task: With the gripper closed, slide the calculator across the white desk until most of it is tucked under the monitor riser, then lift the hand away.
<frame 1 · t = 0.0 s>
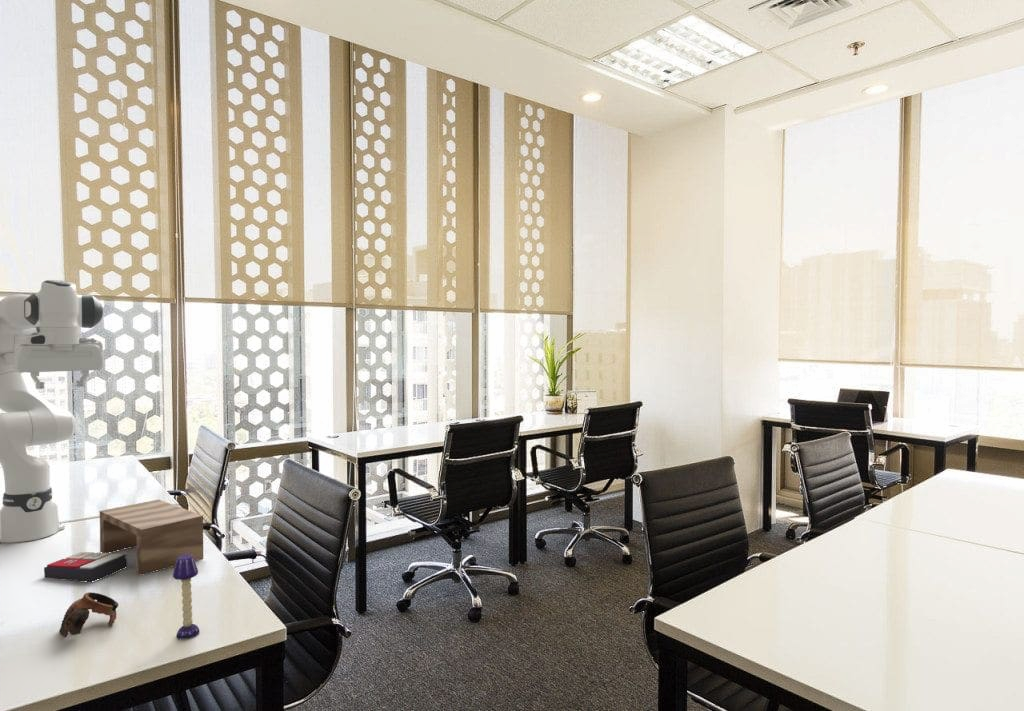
hand: (60, 387, 171), 48 cm above the table, tool pointing down, fingers open, 8 cm apart
calculator: (86, 574, 162), on the table
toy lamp: (186, 635, 128), on the table
brown curved loop: (85, 631, 130), on the table
monitor riser: (151, 554, 175), on the table
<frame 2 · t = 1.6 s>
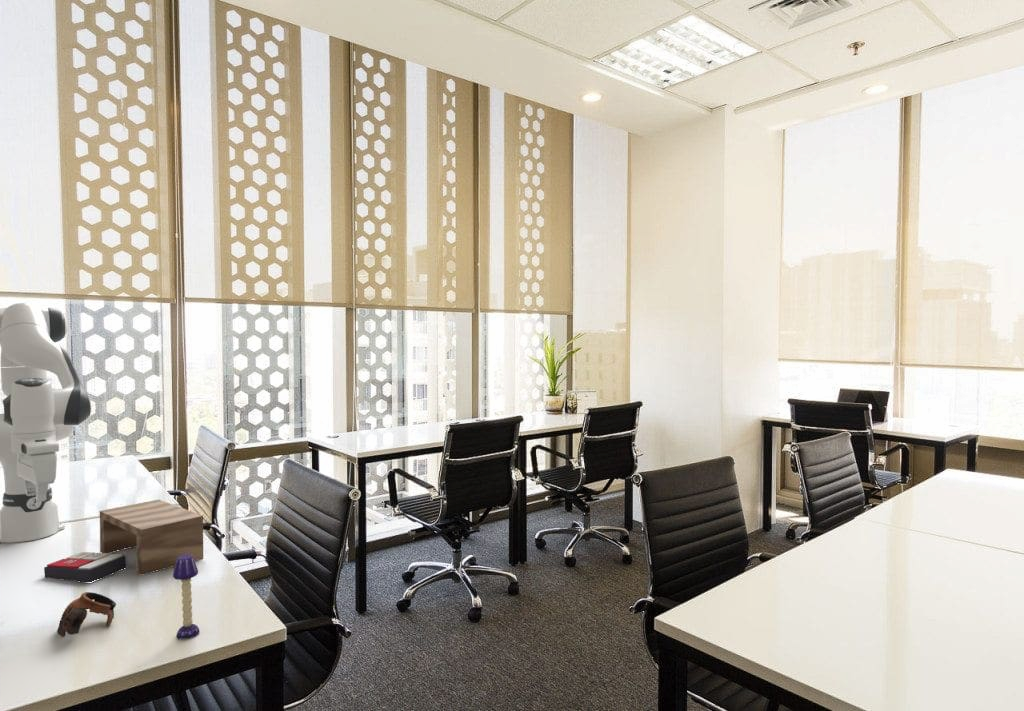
hand: (36, 498, 153), 22 cm above the table, tool pointing down, fingers open, 8 cm apart
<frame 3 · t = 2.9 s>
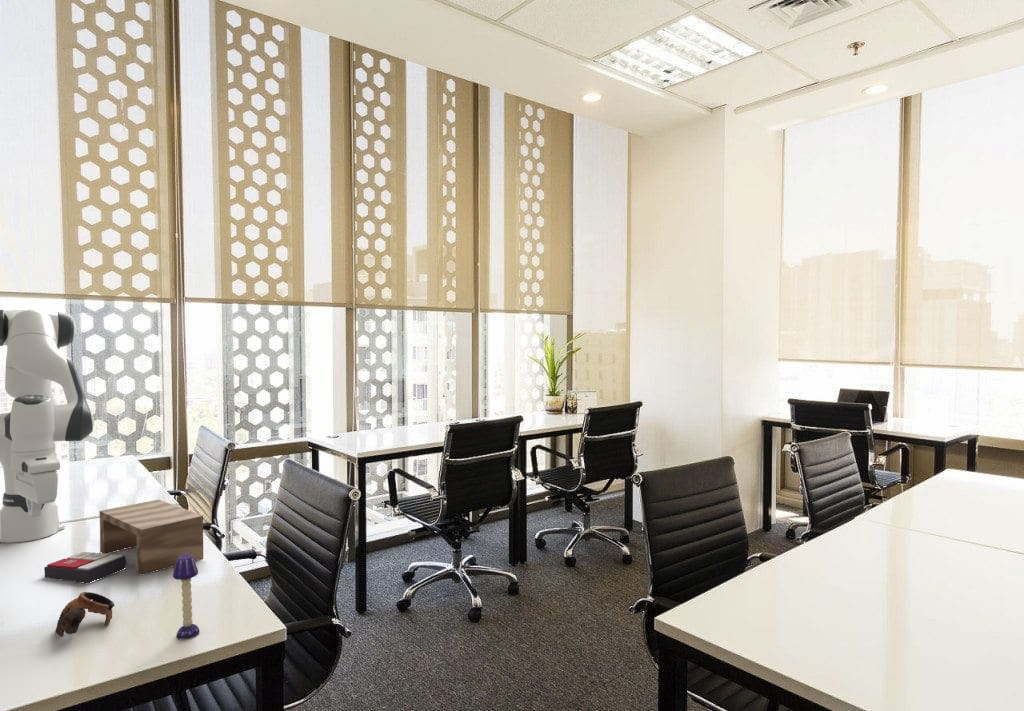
hand: (34, 515, 152), 18 cm above the table, tool pointing down, fingers closed
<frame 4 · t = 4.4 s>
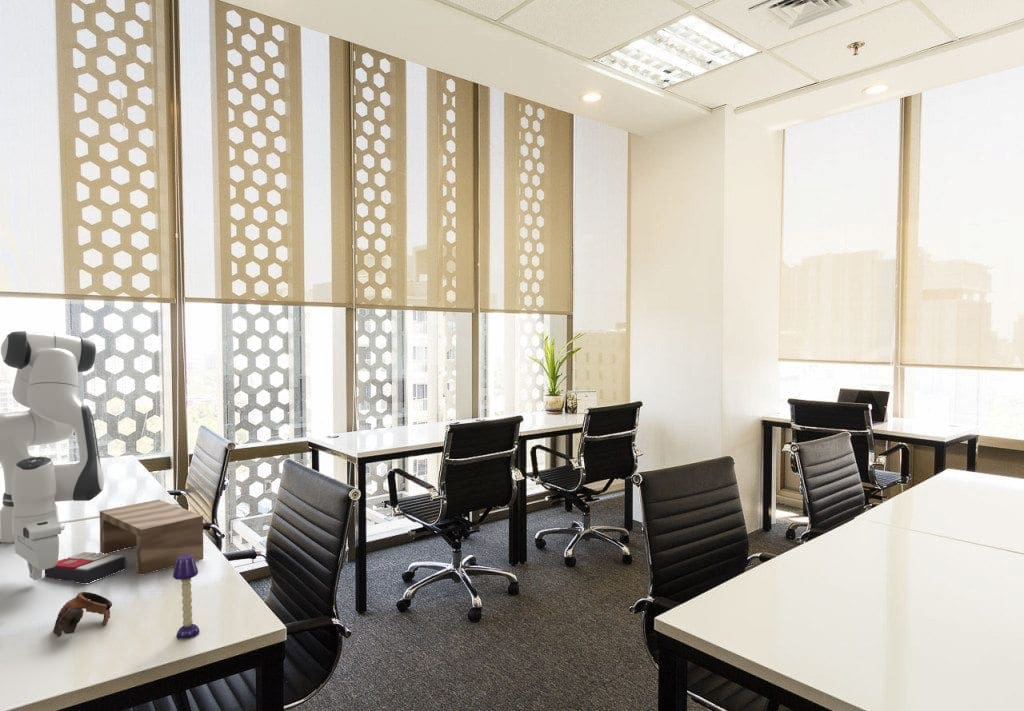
hand: (35, 578, 153), 2 cm above the table, tool pointing down, fingers closed
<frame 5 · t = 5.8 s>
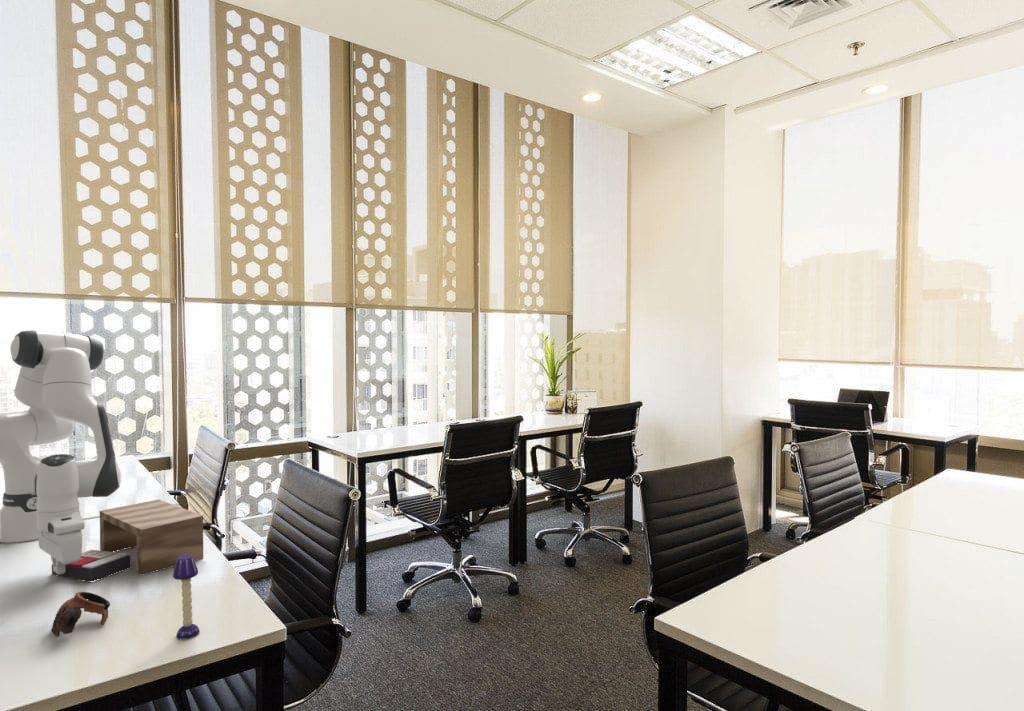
hand: (59, 572, 157), 2 cm above the table, tool pointing down, fingers closed
calculator: (92, 572, 163), on the table, touching gripper
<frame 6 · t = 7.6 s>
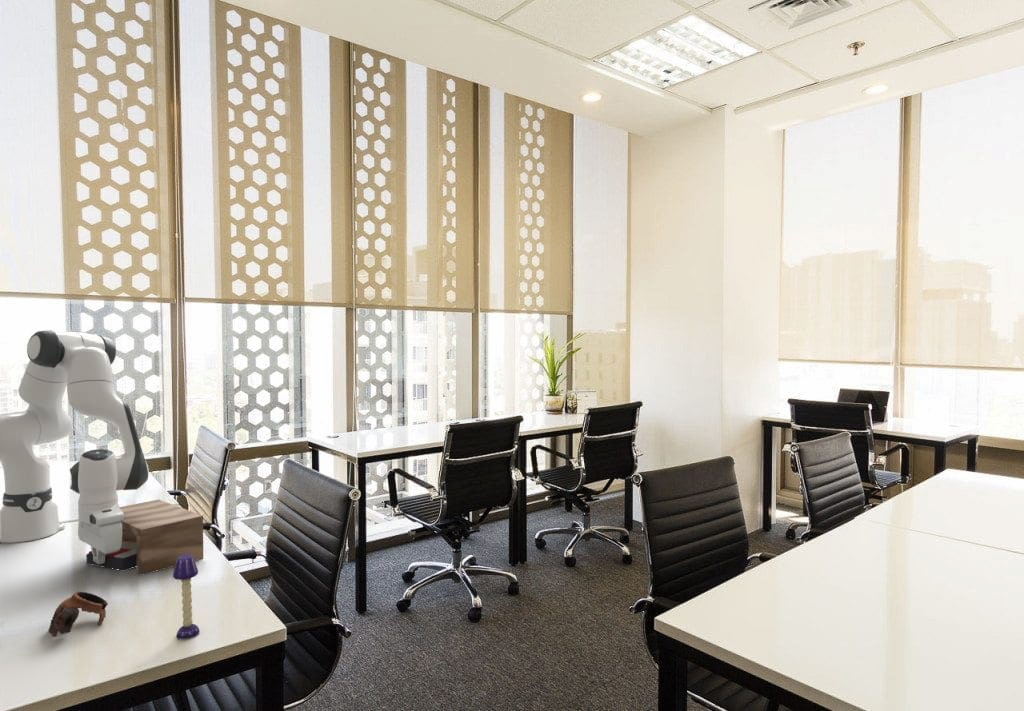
hand: (99, 562, 164), 2 cm above the table, tool pointing down, fingers closed
calculator: (123, 562, 170), on the table, touching gripper
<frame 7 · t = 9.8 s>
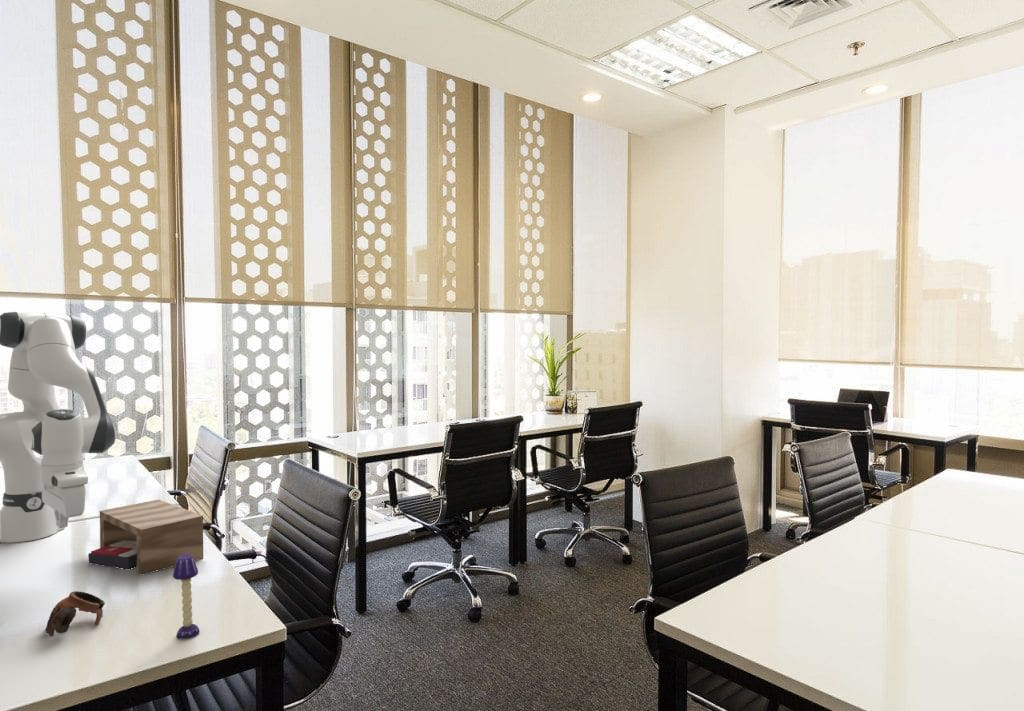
hand: (61, 526, 158), 13 cm above the table, tool pointing down, fingers closed
calculator: (126, 561, 171), on the table
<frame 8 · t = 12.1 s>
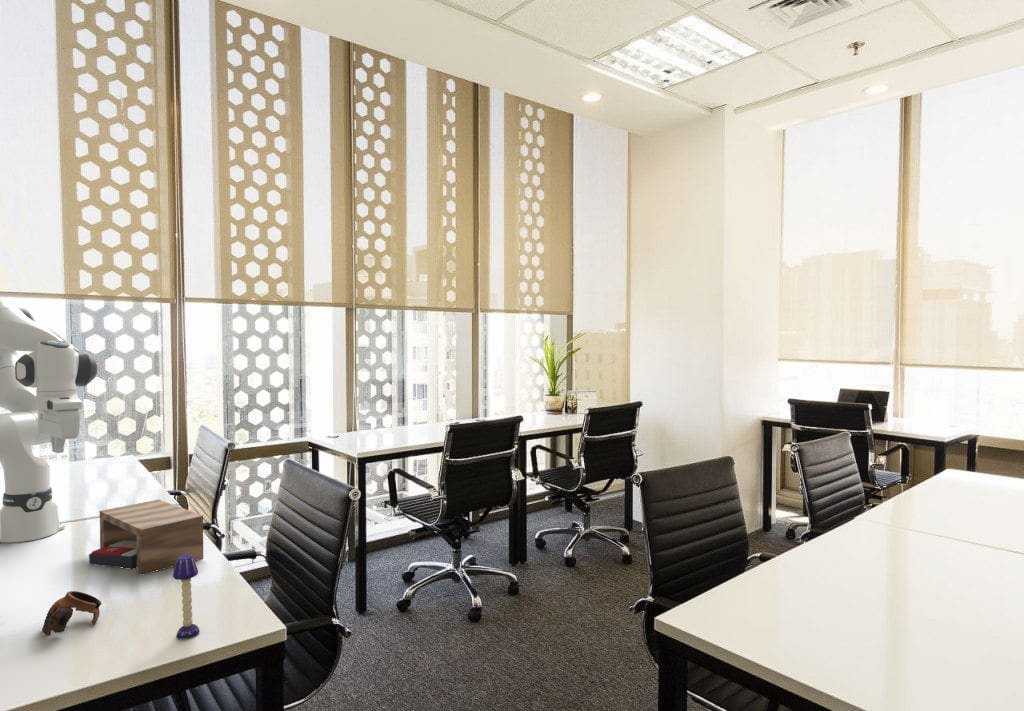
hand: (58, 452, 165), 31 cm above the table, tool pointing down, fingers closed
at the end: calculator inside the target area (3.6 cm from its centre), on the table; calculator moved 10.6 cm from its start; the gripper is holding nothing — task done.
